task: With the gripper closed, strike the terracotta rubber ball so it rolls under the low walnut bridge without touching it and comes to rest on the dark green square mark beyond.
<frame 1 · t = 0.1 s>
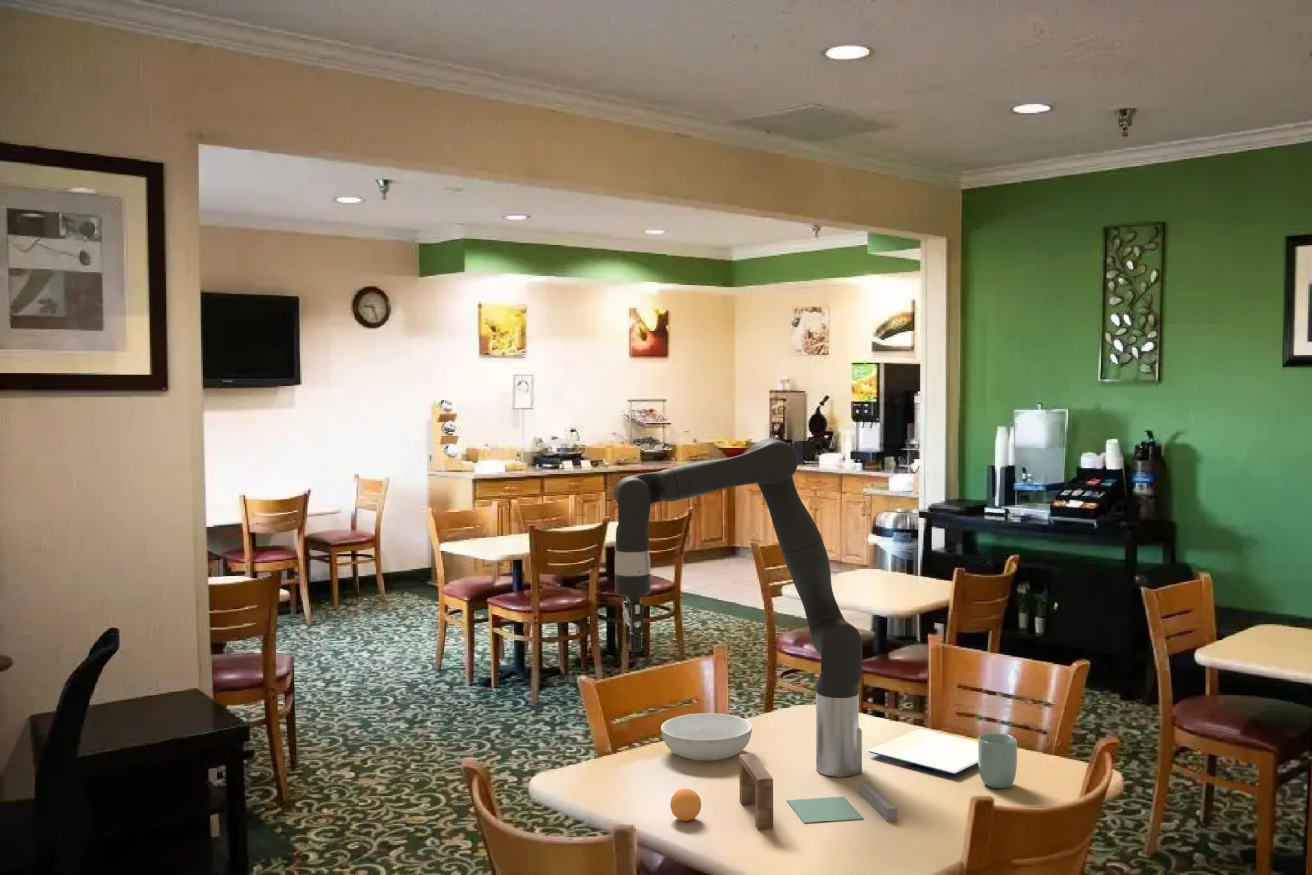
hand: (633, 647, 235), 29 cm above the table, tool pointing down, fingers open, 8 cm apart
plate: (936, 758, 253), on the table
bridge: (755, 814, 218), on the table
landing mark: (824, 810, 220), on the table
cup: (997, 786, 234), on the table
ball: (685, 804, 216), on the table
stopper: (877, 806, 222), on the table
serving bowl: (706, 755, 255), on the table
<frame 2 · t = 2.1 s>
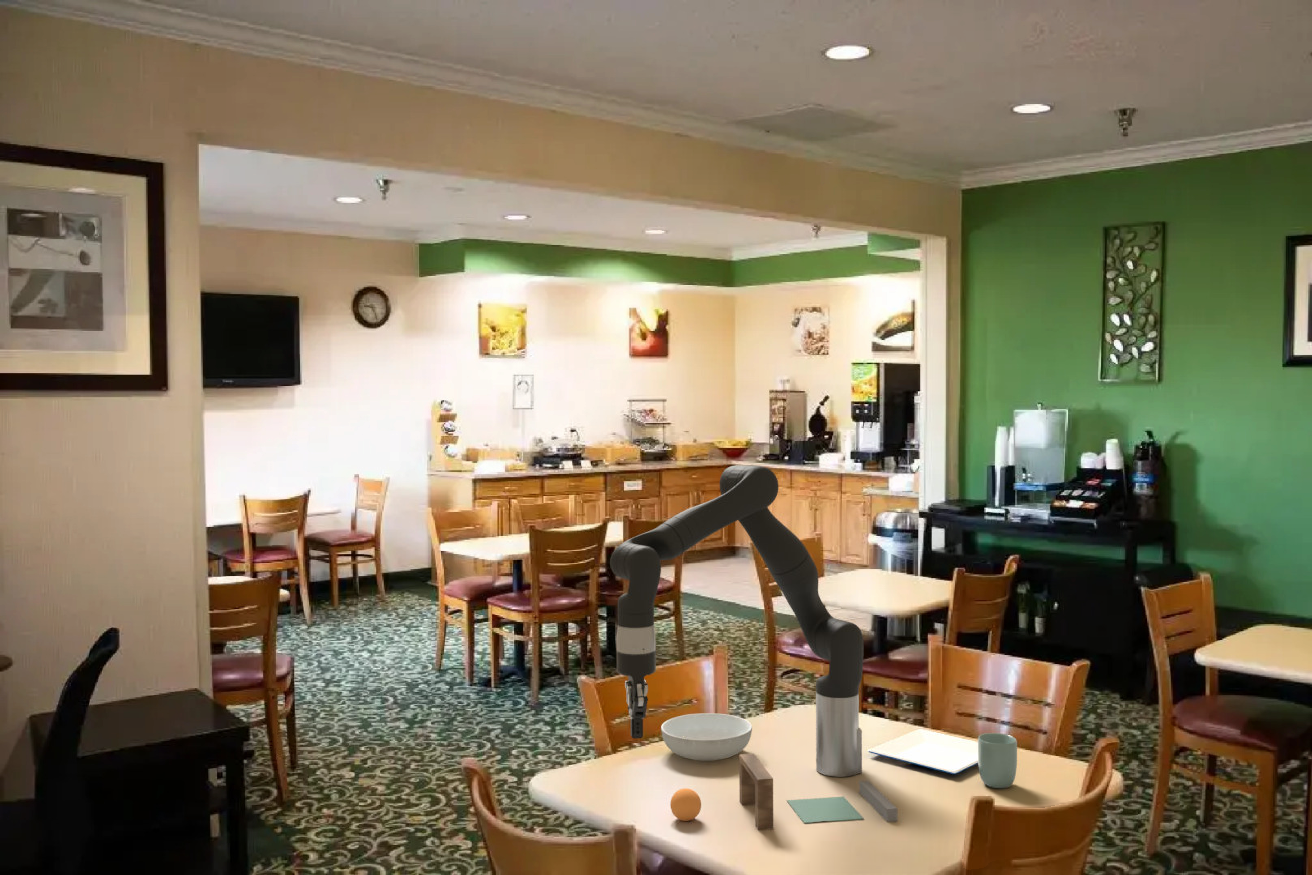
hand: (636, 737, 214), 17 cm above the table, tool pointing down, fingers closed
nothing on the table moved.
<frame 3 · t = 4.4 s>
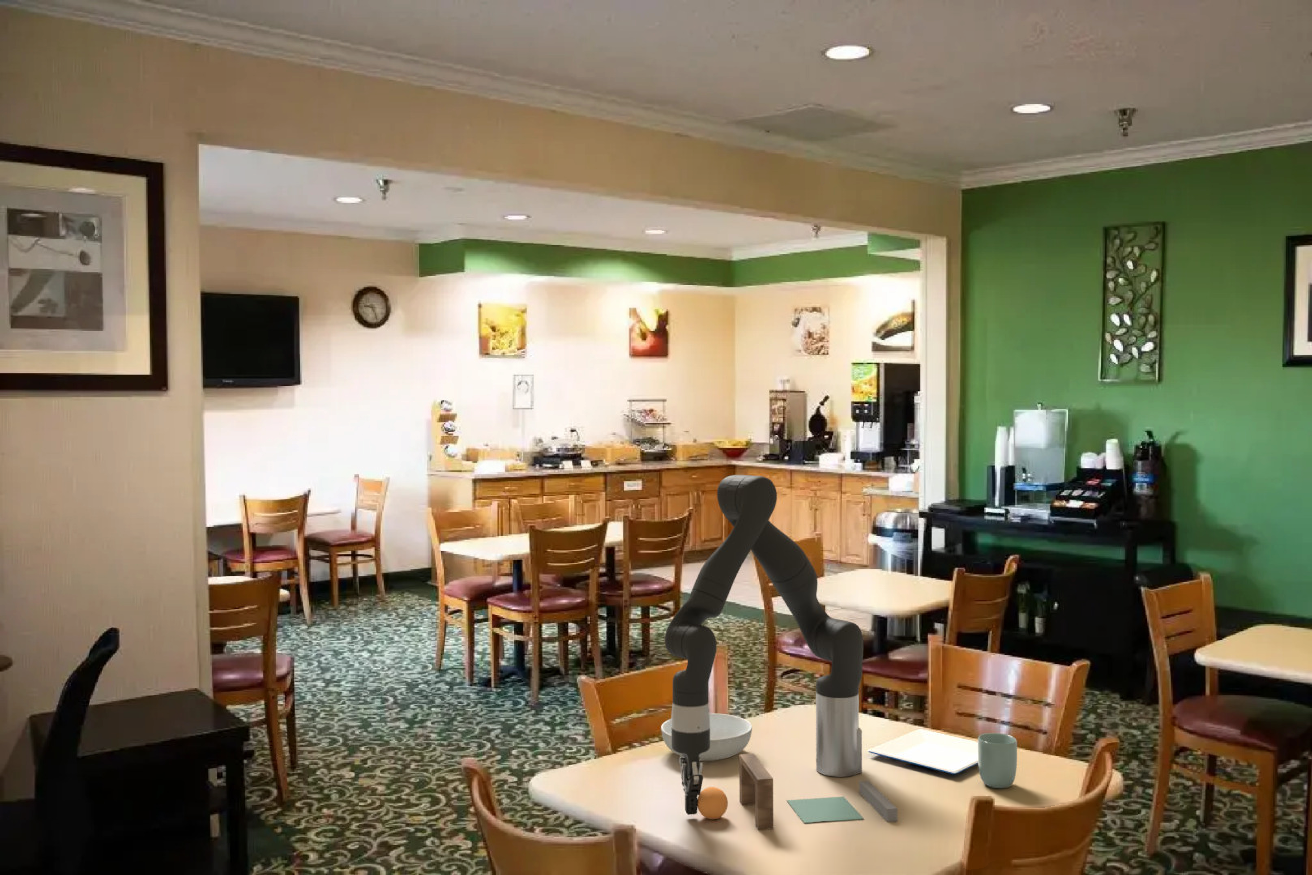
hand: (691, 812, 217), 1 cm above the table, tool pointing down, fingers closed
ball: (712, 802, 217), on the table
everything else where it was.
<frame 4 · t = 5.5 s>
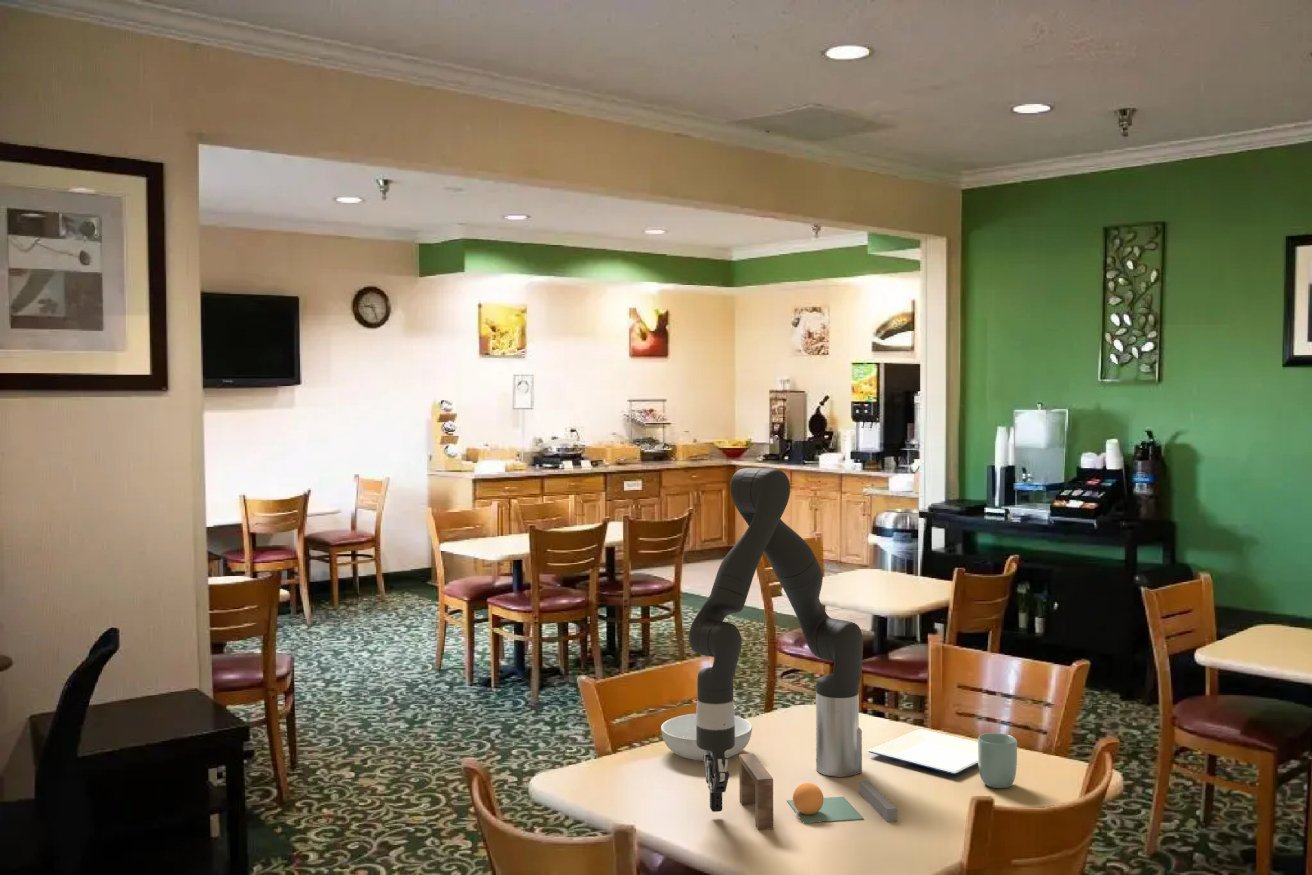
hand: (716, 809, 217), 2 cm above the table, tool pointing down, fingers closed
ball: (808, 798, 218), on the table
everything else where it was.
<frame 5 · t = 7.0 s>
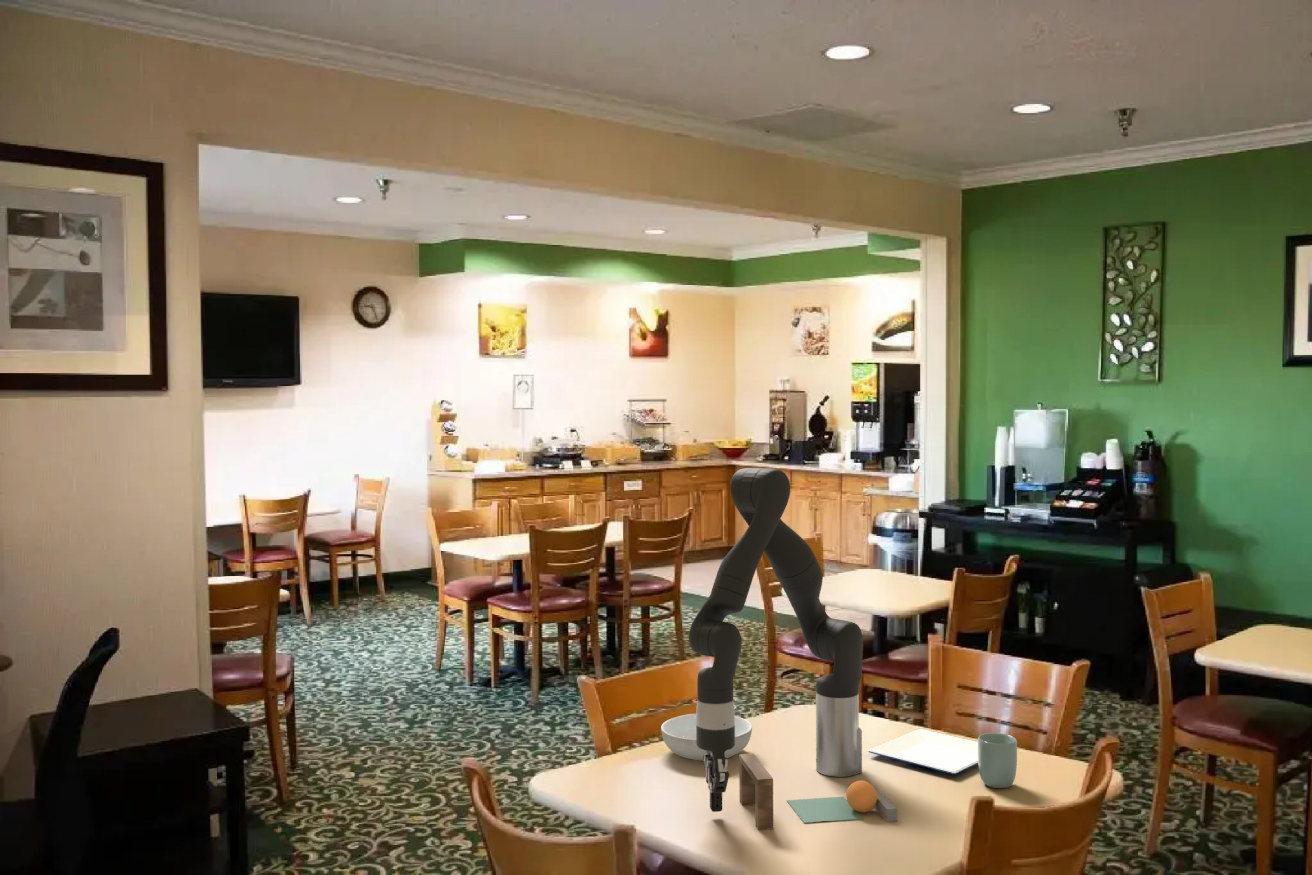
hand: (716, 809, 217), 2 cm above the table, tool pointing down, fingers closed
ball: (861, 796, 220), on the table
everything else where it was.
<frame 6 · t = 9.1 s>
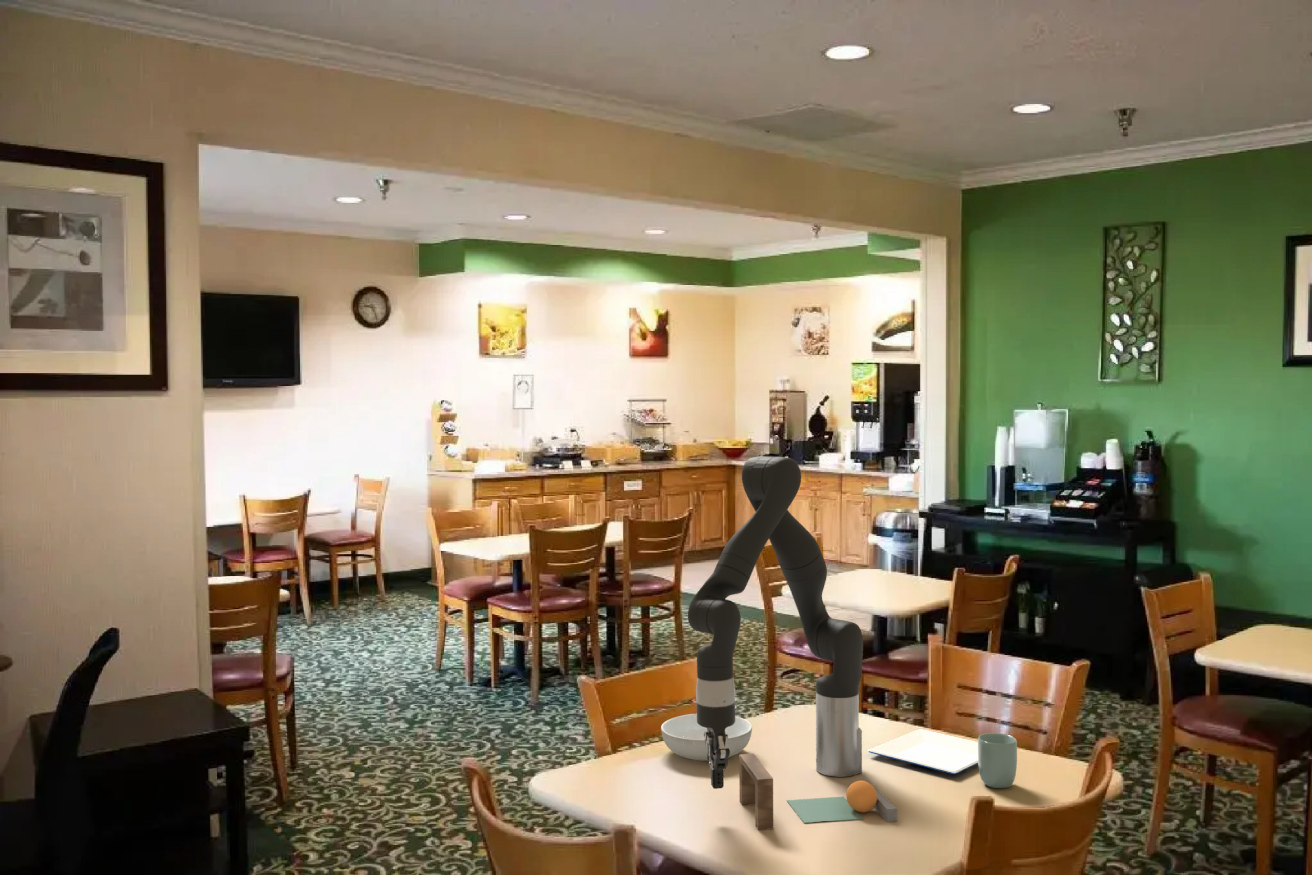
hand: (717, 786, 217), 6 cm above the table, tool pointing down, fingers closed
nothing on the table moved.
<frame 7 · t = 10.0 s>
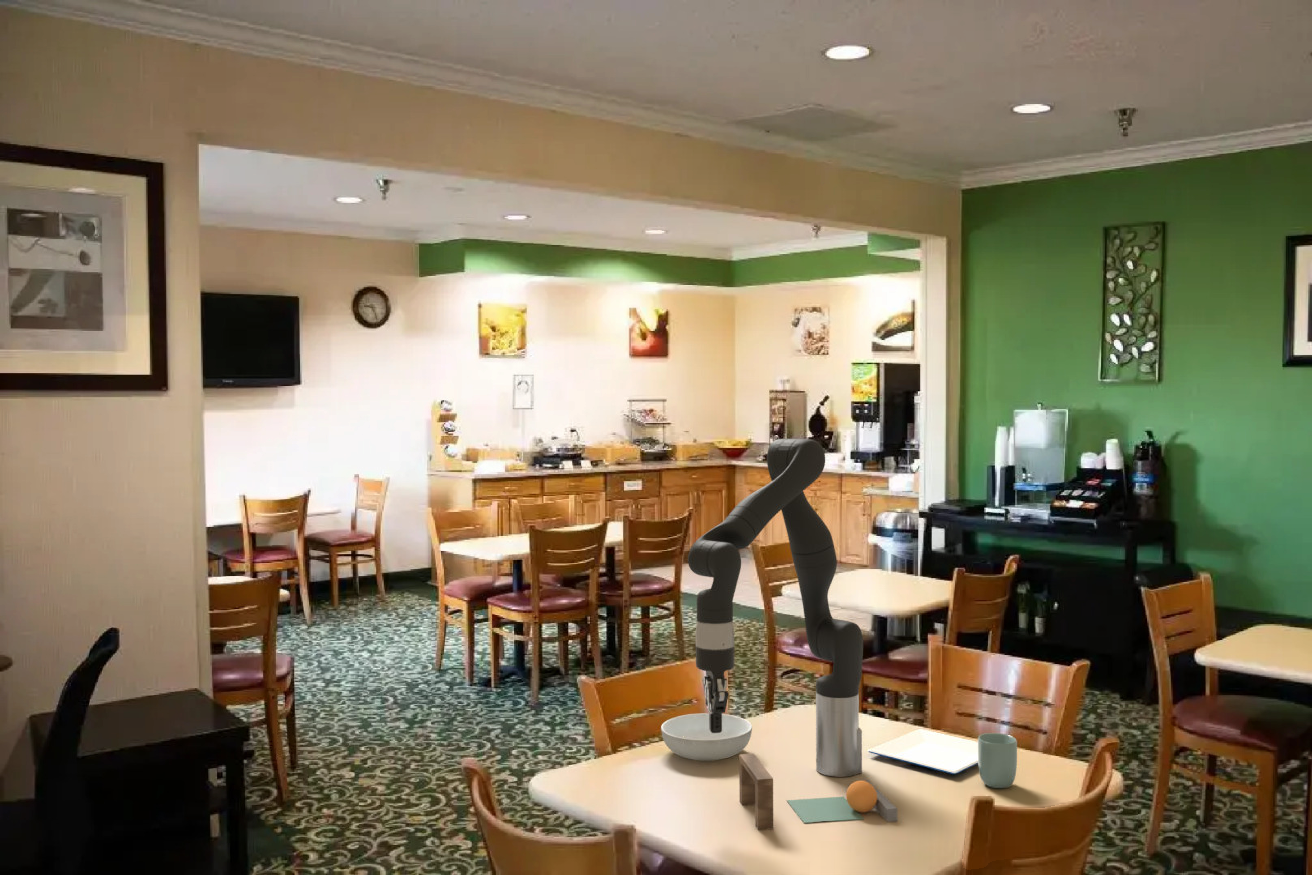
hand: (715, 731, 216), 17 cm above the table, tool pointing down, fingers closed
nothing on the table moved.
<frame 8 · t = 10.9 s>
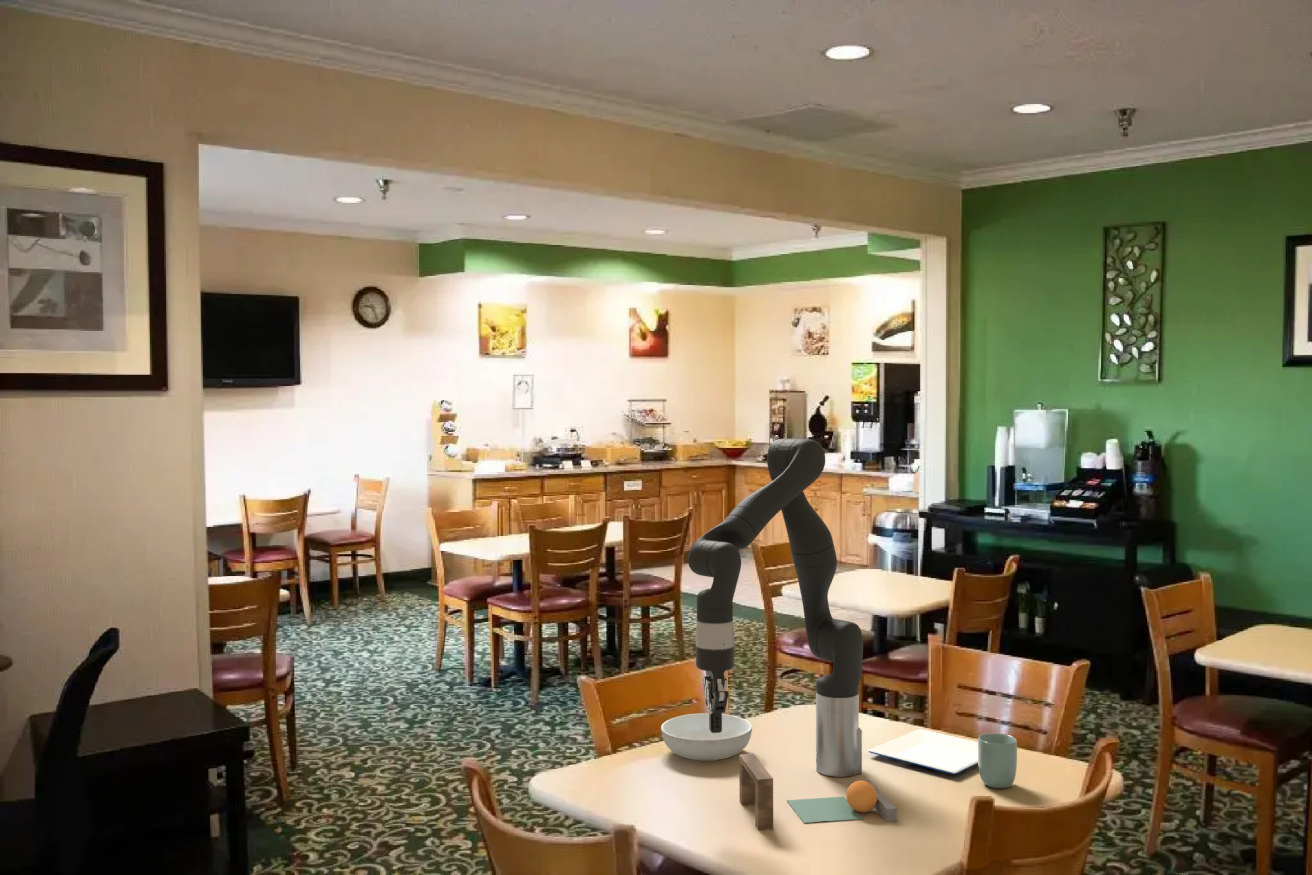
hand: (715, 731, 216), 17 cm above the table, tool pointing down, fingers closed
nothing on the table moved.
at the end: ball 7.3 cm from the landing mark (horizontally); ball never touched bridge; ball at rest at the end (0.0 cm/s) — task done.
